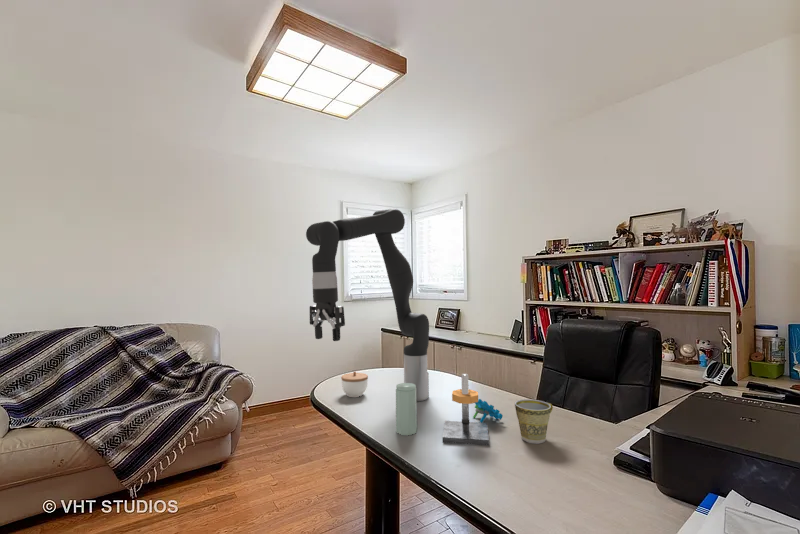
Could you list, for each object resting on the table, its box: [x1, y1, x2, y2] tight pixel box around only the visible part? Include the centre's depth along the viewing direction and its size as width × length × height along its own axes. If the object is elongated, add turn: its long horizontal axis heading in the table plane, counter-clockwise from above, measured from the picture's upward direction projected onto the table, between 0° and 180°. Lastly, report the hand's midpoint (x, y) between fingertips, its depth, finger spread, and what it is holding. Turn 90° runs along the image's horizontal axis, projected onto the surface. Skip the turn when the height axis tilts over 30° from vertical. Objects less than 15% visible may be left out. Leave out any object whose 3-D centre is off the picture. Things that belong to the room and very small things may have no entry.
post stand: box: [442, 373, 490, 446], centre depth 117 cm, size 13×13×18 cm
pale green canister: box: [395, 382, 418, 436], centre depth 120 cm, size 6×6×14 cm
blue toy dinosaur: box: [472, 398, 503, 423], centre depth 128 cm, size 11×6×10 cm
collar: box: [451, 388, 479, 405], centre depth 117 cm, size 8×8×2 cm
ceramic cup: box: [514, 398, 554, 445], centre depth 115 cm, size 13×10×10 cm
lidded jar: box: [340, 371, 369, 398], centre depth 158 cm, size 11×11×9 cm
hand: (327, 339), depth 120 cm, fingers open, 8 cm apart
